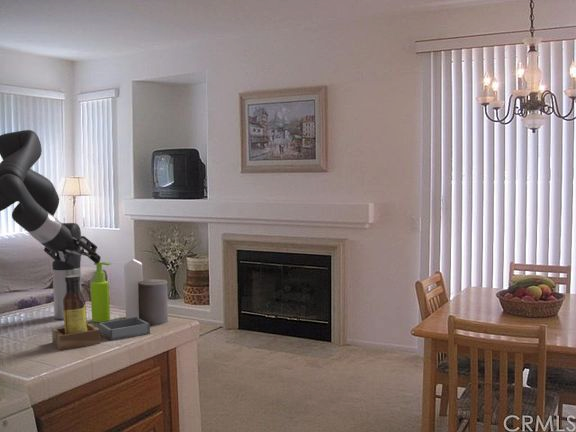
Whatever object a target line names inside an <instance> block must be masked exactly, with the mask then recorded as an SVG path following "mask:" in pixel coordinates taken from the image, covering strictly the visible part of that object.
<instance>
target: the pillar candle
mask: <svg viewBox="0 0 576 432" xmlns="http://www.w3.org/2000/svg"><path fill="white" fill-rule="evenodd" d="M138 295H139V319H141V320H143V321H145V322H147V323H149V324H150V326H160V325H163V324H167V323H168V321H169V318H168V317H169V304H168V303H169V302H168V280H166V279H153V277H151V279H145V280H144V279H143V281H140V282H138Z"/></svg>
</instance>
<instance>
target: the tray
mask: <svg viewBox="0 0 576 432" xmlns="http://www.w3.org/2000/svg"><path fill="white" fill-rule="evenodd" d="M97 326H98V327H97V328H98V329H99V330H100V336H101V335H102V336H103V337H104V338H105V339H108V341H116V340H121V339H126V338H133V337H138V336H145V335H148V334H149V335H150V334H151V328H150V327H151V325H150V324H149V323H147V322H145V321H143V320H141V319H139V318H137V317H133V318H127V319H126V318H122V319H121V318H120V319H115V320H108V321H104V322H97Z"/></svg>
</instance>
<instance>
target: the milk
mask: <svg viewBox="0 0 576 432" xmlns="http://www.w3.org/2000/svg"><path fill="white" fill-rule="evenodd" d="M131 255H132V258H131V259H129V260H128V261H126V262H124V264H123V269H124V272H123V273H124V299H125V300H124V301H125V302H124V303H125V305H124V306H125V319H127V318H133V317H137V318H139V295H138V282H140V281H144V278H143V263H142V262H141V261H139V260H137V259H135V258H134V253H133V254H131Z"/></svg>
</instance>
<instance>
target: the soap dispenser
mask: <svg viewBox="0 0 576 432" xmlns="http://www.w3.org/2000/svg"><path fill="white" fill-rule="evenodd" d="M93 265H94V266H96V271H94V273H93V277H94V278H93V279H94V281H92V282H90V301H91V302H90V304H91V321H92V322H94V323H101V322H107V321H111V314H110V312H111V310H110V309H111V308H110V282H109V281H108V280H106V276H105V275H106V273H105V271H103V267H102V266H103V265H105V266H109V265H111V262H107V261H100V262H99V263H97V264H96V263H95V262H93Z"/></svg>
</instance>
